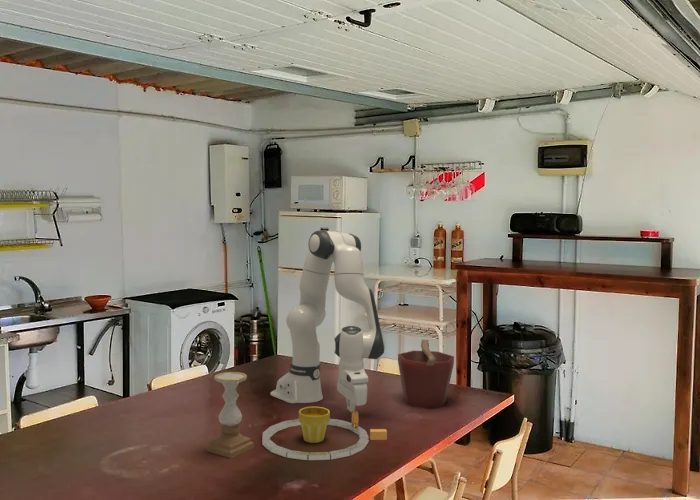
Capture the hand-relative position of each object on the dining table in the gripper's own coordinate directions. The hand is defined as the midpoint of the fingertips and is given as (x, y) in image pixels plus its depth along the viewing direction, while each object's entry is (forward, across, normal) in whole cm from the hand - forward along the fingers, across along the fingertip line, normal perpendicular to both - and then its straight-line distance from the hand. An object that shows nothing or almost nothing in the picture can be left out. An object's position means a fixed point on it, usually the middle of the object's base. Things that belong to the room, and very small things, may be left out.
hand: (351, 410), depth 224 cm
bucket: (+6, -17, +38) cm, 42 cm away
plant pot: (+5, +10, -17) cm, 20 cm away
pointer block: (+5, +16, +4) cm, 17 cm away
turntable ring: (+5, +10, -17) cm, 20 cm away
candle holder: (+5, +10, -45) cm, 46 cm away
